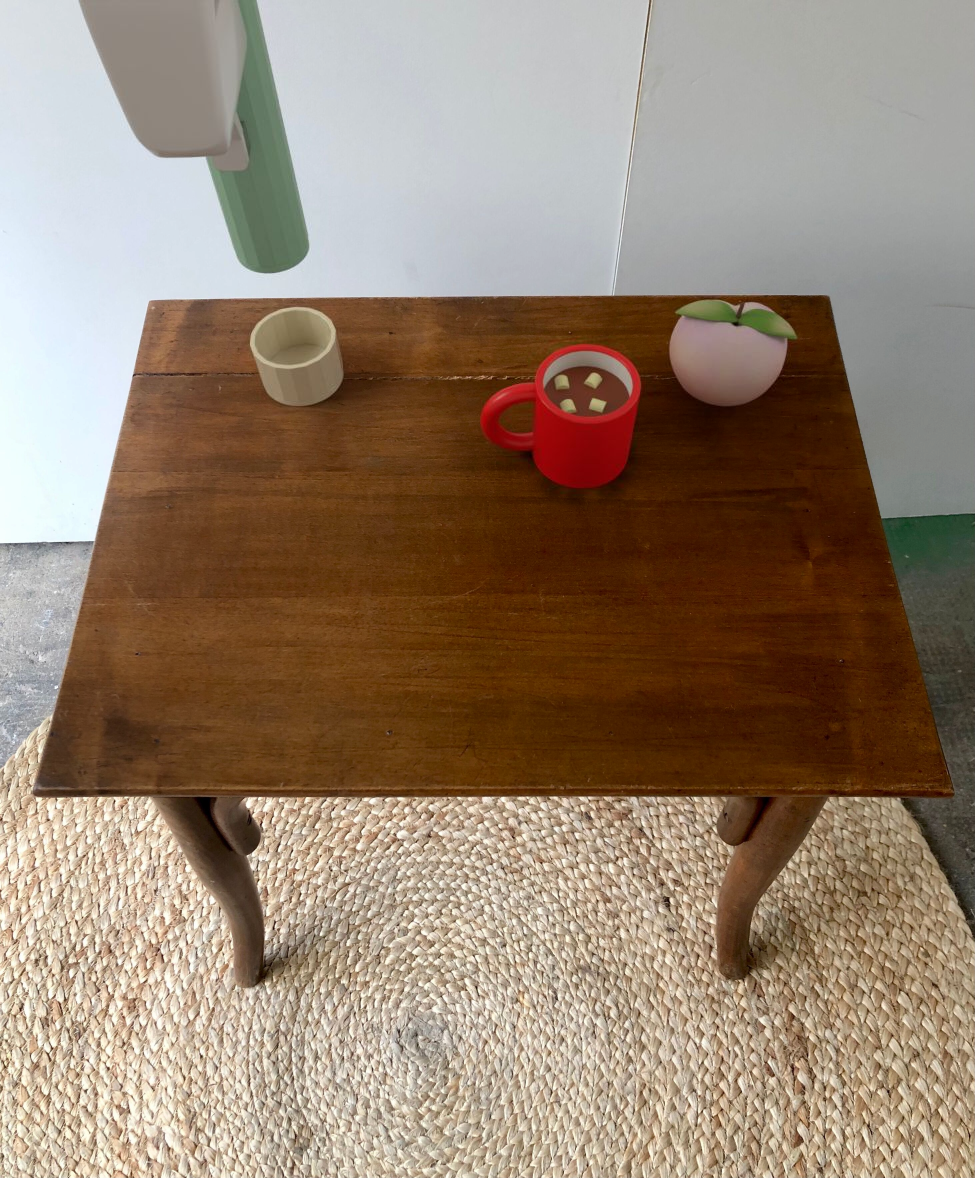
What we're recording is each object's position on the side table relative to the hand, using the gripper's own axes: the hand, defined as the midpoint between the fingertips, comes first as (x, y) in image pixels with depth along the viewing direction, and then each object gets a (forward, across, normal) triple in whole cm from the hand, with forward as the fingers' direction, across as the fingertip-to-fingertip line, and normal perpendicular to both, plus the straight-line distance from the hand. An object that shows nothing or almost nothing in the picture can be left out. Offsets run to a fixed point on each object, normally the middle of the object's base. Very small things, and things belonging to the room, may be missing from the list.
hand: (239, 129), depth 48 cm
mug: (+29, -1, +18) cm, 35 cm away
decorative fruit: (+29, -6, +32) cm, 44 cm away
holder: (+29, -10, -3) cm, 31 cm away
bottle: (+8, 0, 0) cm, 8 cm away
